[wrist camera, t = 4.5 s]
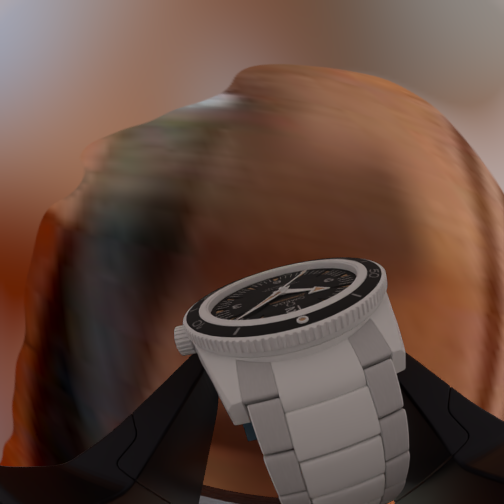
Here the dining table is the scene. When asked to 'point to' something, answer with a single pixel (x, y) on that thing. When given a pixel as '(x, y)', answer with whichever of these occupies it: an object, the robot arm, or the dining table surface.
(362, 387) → the watch
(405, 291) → the dining table surface
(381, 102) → the dining table surface
